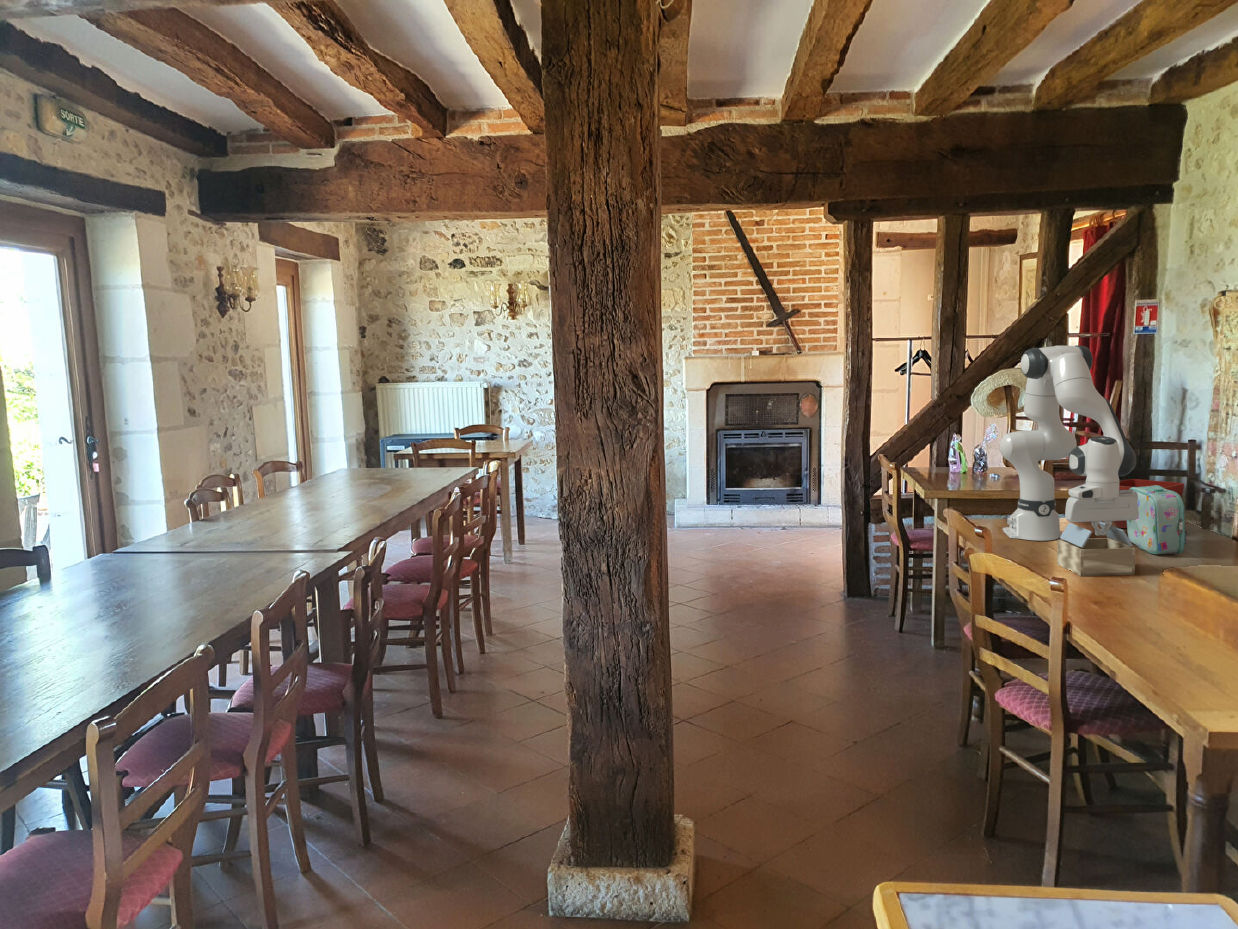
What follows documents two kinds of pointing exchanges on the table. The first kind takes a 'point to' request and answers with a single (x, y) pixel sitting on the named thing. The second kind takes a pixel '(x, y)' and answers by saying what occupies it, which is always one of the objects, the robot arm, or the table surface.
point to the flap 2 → (1117, 534)
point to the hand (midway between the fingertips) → (1101, 535)
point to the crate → (1097, 557)
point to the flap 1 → (1076, 535)
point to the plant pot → (1143, 483)
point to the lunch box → (1158, 521)
